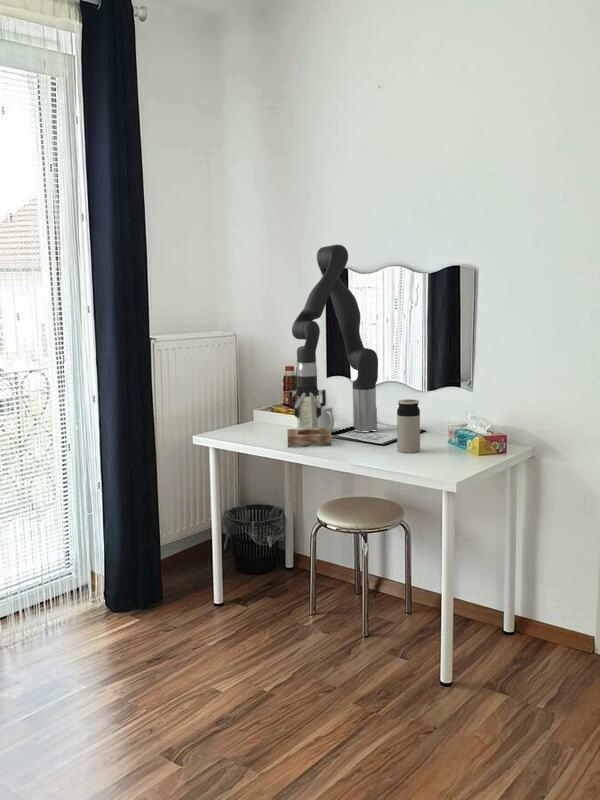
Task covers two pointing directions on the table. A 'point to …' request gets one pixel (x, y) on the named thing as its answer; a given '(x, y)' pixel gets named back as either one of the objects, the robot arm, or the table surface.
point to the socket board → (309, 437)
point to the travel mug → (408, 426)
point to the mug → (326, 418)
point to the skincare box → (308, 413)
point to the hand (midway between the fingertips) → (307, 417)
